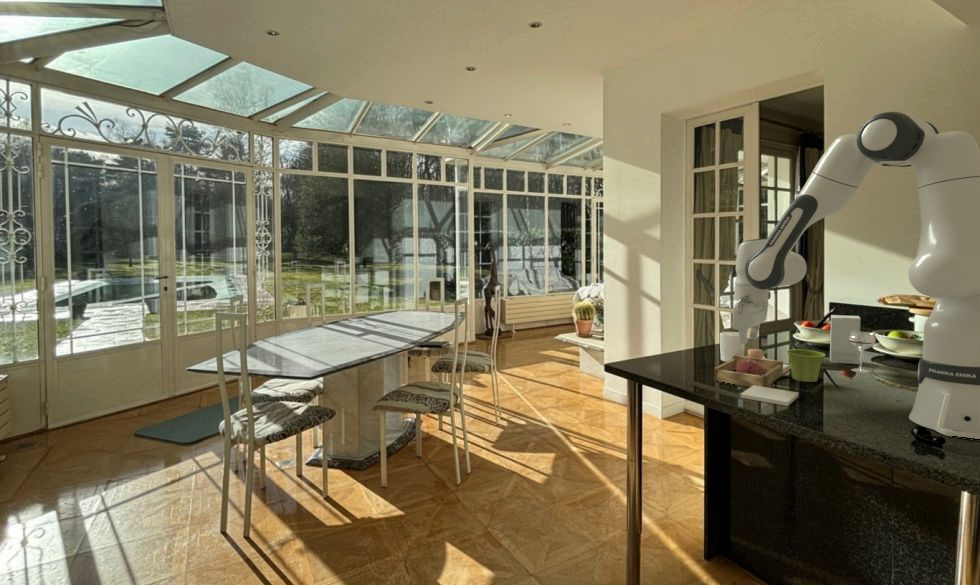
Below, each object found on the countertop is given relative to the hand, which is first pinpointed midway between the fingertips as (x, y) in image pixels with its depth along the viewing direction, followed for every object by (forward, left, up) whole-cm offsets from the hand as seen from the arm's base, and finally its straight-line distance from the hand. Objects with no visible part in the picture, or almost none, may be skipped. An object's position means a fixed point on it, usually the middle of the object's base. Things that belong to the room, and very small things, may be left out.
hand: (748, 341), depth 153 cm
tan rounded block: (+3, -16, -11) cm, 20 cm away
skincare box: (-17, -44, -12) cm, 49 cm away
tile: (-10, +15, -12) cm, 21 cm away
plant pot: (-13, -7, -12) cm, 19 cm away
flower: (0, 0, -12) cm, 12 cm away
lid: (0, -17, -12) cm, 20 cm away
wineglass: (-23, -33, -12) cm, 42 cm away
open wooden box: (0, 0, -12) cm, 12 cm away
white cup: (+11, -19, -12) cm, 25 cm away
